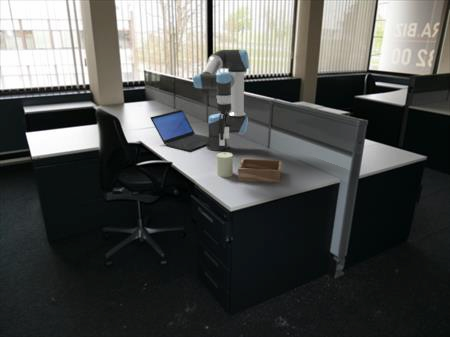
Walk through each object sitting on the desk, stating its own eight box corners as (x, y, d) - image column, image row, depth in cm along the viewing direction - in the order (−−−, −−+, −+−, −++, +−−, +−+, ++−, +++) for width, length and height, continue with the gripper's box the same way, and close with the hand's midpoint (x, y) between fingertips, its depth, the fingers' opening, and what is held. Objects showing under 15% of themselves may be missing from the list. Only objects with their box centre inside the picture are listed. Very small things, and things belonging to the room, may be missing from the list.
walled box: (242, 169, 204) (242, 158, 202) (280, 171, 200) (281, 160, 198) (238, 180, 189) (238, 168, 187) (279, 183, 185) (280, 171, 183)
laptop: (189, 152, 234) (188, 124, 227) (151, 143, 255) (149, 117, 248) (220, 141, 259) (219, 115, 252) (183, 133, 280) (182, 109, 273)
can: (232, 170, 203) (232, 151, 198) (233, 176, 194) (233, 156, 190) (216, 171, 202) (216, 151, 198) (216, 177, 194) (216, 157, 189)
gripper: (221, 98, 195) (222, 135, 203) (212, 107, 173) (212, 148, 180) (234, 99, 194) (234, 135, 202) (226, 107, 171) (227, 148, 179)
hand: (224, 141), depth 191 cm, fingers open, 13 cm apart
